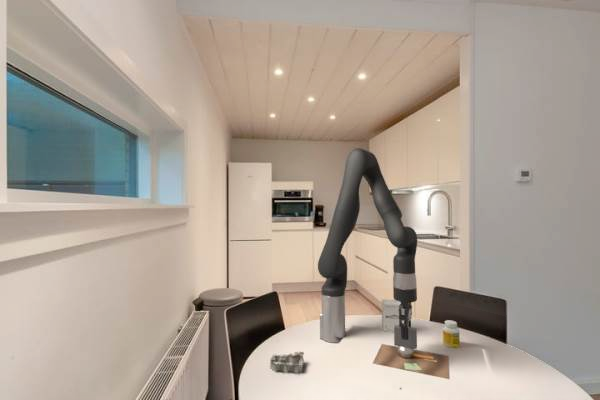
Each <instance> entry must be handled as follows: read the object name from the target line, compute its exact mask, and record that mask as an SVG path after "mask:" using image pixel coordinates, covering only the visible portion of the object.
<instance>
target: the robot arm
mask: <svg viewBox="0 0 600 400" xmlns="http://www.w3.org/2000/svg"><path fill="white" fill-rule="evenodd" d="M345 160H346V161H345V165H344V171H343V172H344V173H343V178H342V183H341V187H340V190H339V193H338V199H337V201H336V205H335V208H334V212H333V214H332V215H333V216H332V220H331V223H330V227H329V230H328V233H327V238H326V240H325V244H324V246H323V248H322V251H321V253H320V255H319V258H318V261H317V270H318V272H319V275H320V276H321V277H322V278H324V279H325V282H324V283H323V285H322V286H321V312H320V314H319V339H320V340H323V341H325V342H328V343H341V342H342V340H343V339H344V338H345V337H346V297H345V296H346V288H347V284H348V283H347V282H348V264H347V259H346V257H345V255H343V254H342V251H343V247H344V245H345V243H346V242H347V240H348V239H349V237H350V235H351V234H352V233H353V231H354V229H355V227H356V225H357V221H358V218H359V214H360V210H361V209H360V208H361V205H360V203H361V201H360V187H361V183H362V179H363V178H364V179H365V181H366V182H367V183H368V185H369V188H370V191H371V194H372V199H373V203H374V207H375V208H376V211H377V212H378V215H379V217H380V219H381V220H382V222H383V225H384V231H385V234H386V236H387V238H388V241H389V242H390V244H391V245H392V246H394V247H395V248H397V250H396V254H395V255H394V256H393V260H392V261H393V264H392V265H393V266H392V268H393V275H392V276H393V277H392V289H393V290H392V291H393V295H392V296H393V300H396V301H399V302H401V304H400V306H399V327H401V339H404V340H408V338H409V337H408V327H412V318H413V317H412V316H413V305H412V303H414V302H416V301H417V300H418V293H417V291H418V290H417V289H418V287H417V285H418V284H417V275H416V261H415V260H416V254H417V248H418V235H417V233H416V231H415V229H414V228H412V227H411V226H405V225H404V223H403V221H402V217H403V214H402V211H401V209H400V207H399V205H398V204H397V202H396V200H395V199H394V196H393V194H392V193H391V191H390V189H389V187H388V185H387V183H386V181H385V177H384V176H383V173H382V171H381V167H380V164H379V162H378V158H377V157H376V155H375V154H374V153H373V152H372V151H369V150H366V149H363V148H354V149H352V150H351V151H349V154H348V155H347V158H346V159H345Z"/></svg>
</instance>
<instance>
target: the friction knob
mask: <svg viewBox="0 0 600 400" xmlns="http://www.w3.org/2000/svg"><path fill="white" fill-rule="evenodd" d="M417 330H418V328H417V327H412V326H411V327H408V337H409V338H408V340H404V339H401V327H399V325H395V326H394V332H393V336H394V337H393V339H394V340H393V341H394V345H393V346H397V347H398V355H399V356H400V357H402V358H407V359H409V358H413V357H414V356H416V357H421V358H427V359H432V360H433V357H432V356H426V355H421V354H415V353H414V350H418V349H417V348H418V331H417Z"/></svg>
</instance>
